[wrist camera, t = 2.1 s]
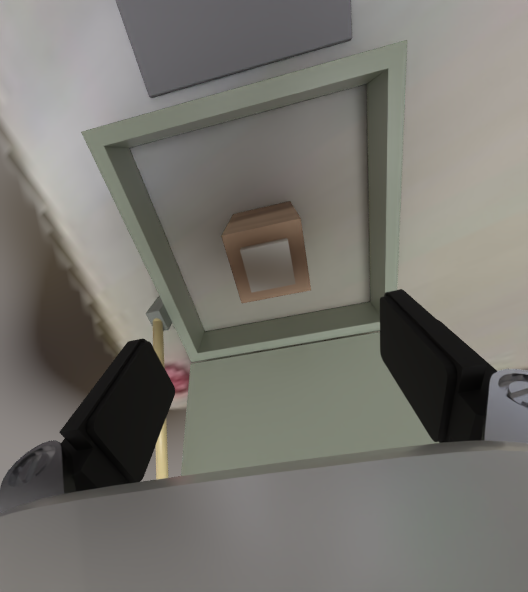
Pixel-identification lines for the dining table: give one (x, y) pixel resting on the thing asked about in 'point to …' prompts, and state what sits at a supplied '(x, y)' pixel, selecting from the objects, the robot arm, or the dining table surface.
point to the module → (267, 252)
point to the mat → (225, 36)
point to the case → (289, 330)
